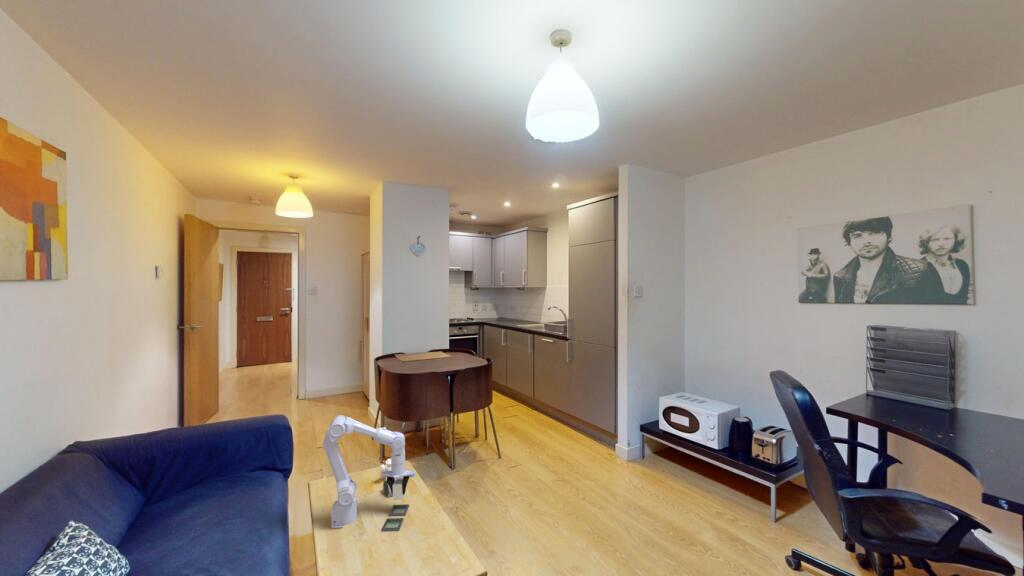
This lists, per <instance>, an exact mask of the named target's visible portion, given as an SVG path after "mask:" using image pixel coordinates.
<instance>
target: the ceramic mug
mask: <svg viewBox="0 0 1024 576" xmlns="http://www.w3.org/2000/svg"><path fill="white" fill-rule="evenodd" d="M399 478H402V477H399ZM395 480H397V478H395ZM382 488H383V489H382V490H383V494H385V493H387V492H388V495H387V498H389V497H393V495H392V493H391V489H390V487H389V485H388V483H387V482H386V479H384V481H383V484H382Z"/></svg>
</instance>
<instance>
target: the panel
mask: <svg viewBox="0 0 1024 576" xmlns="http://www.w3.org/2000/svg"><path fill="white" fill-rule="evenodd" d="M409 508H410V504H409V503H408V504H407V503H405V504H392V506H391V508H390V511H389V513H388V517H389V518H385V521H384V523H383V526H382V527H381V530H380V531H381V532H400V530H401V528H402V525H403V523H404V518H403V517H406V515H407V513H408V510H409ZM392 517H394V518H392ZM396 517H397V518H396ZM398 517H399V518H398Z"/></svg>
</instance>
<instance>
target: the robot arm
mask: <svg viewBox="0 0 1024 576" xmlns="http://www.w3.org/2000/svg"><path fill="white" fill-rule="evenodd" d="M354 432H355V433H357V434H361V435H364V436H367V437H372V438H373V441H374V442H376V443H379V444H382V445H386V446H388V447H389V446H390V448H391V453H390V454H391V456H390V459H391V471H384V472H382V471H381V473H380V479H384V478H386V477H387V480H386V479H385V480H386V482H387V483H388V485H389V487H390V489H391V493H392V495H393V483H394V481H395V478H399V477H401V478H402V485H403V494H406V489H407V485H408V483H409V479H410V478H416V476H417V475H416V474H417V472H416V470H410V469H409V470H408V469H406V449H405V446H406V437H405V435H404V434H403V432H401V431H391V430H390V429H387V427H385V426H383V427H378V428H375V427H372V426H370V425H368V424H365V423H363V422H360V421H358V420H355V419H354V418H352V417H350V416H346V415H342V414H339V415H336V416H335V417H334V418H333V419H332V421H331V422H330V423H329V426H328V428H327V430H326V432H325V435H324V439H323V441H322V445H323V449H324V451H325V455H326V457H327V460H328V463H329V466H330V468H331V471H332V474H333V476H334V480H335V483H336V491H337V500H335V501H333V503H332V506H331V510H330V511H331V517H330V518H331V526H330V529H341V528H344V527H345V526H347V525H351V524H353V523H355V522H356V521H357V519H358V502H357V501H358V498H357V496H356V494H355V493H356V489H357V486H358V485H357V483H356V482H355V480H353V479H352V476H351V475H350V474H349V473H348V470H347V466H346V464H345V461H344V459H343V455H342V452H341V449H340V447H339V445H338V441H339V439H340V438H342V436H343V435H344V434H345V435H349V434H352V433H354Z"/></svg>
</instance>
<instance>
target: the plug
mask: <svg viewBox="0 0 1024 576" xmlns="http://www.w3.org/2000/svg"><path fill="white" fill-rule="evenodd" d="M402 479H403V477H401V478H397V480H395V481H394V483H393V496H392V501H402V500H403V499H404V497H405V494H406V493H405V494H403V485H402Z"/></svg>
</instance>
